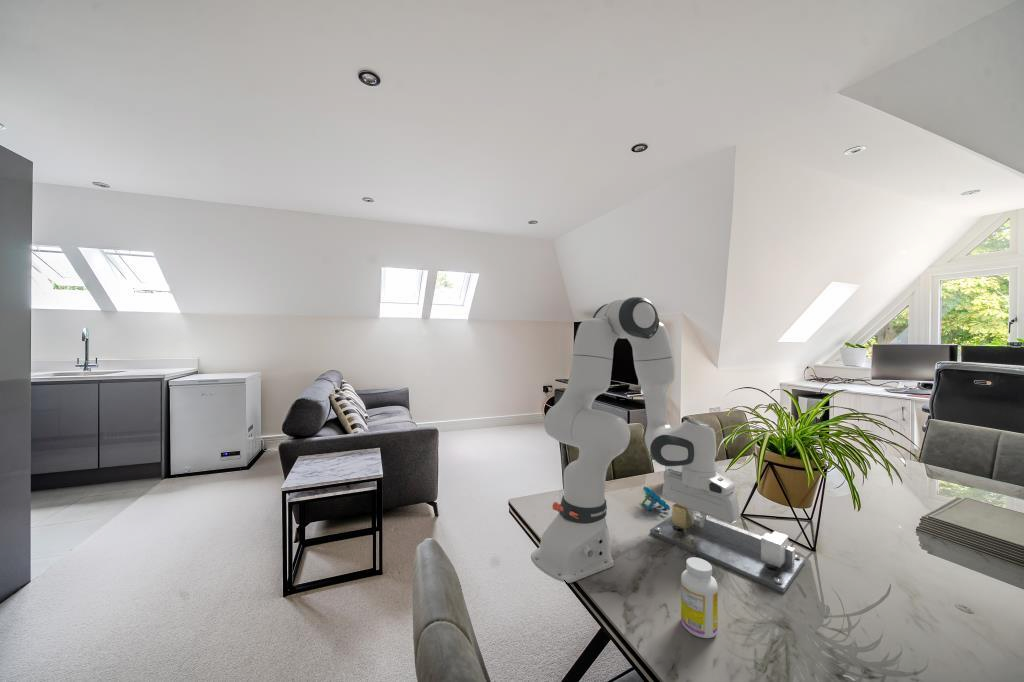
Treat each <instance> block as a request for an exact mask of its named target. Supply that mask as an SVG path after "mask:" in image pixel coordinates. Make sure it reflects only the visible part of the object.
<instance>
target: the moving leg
mask: <svg viewBox="0 0 1024 682" xmlns="http://www.w3.org/2000/svg"><path fill="white" fill-rule="evenodd" d="M672 506H673V516H672V515H671V516H672V524H674V525H677V526H679V527H680V529H681V530H684V529H687V528H688V527H690V526H691V525H692V518H691V516H690V515H689V513H688V508H687V507H685V506H682V505H679V504H676V503H674V504H673V505H672ZM694 512H696V513H698V511H696V510H695V511H694Z"/></svg>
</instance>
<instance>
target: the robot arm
mask: <svg viewBox="0 0 1024 682" xmlns="http://www.w3.org/2000/svg"><path fill="white" fill-rule="evenodd" d="M575 334H576V335H575V339H574V342H573V347H572V356H571V364H570V371H569V377H568V381H567V385H566V387H565V390H564V392H563V393H562V394H563V395H562V396H561V397H560V399H559V400H558V401H557V402H556V403H555V404H554V405H553V406H551V407H549V409H548V410H547V412H546V414H545V415H544V416H545V417H544V422H543V423H544V429H545V432H546V433H547V435H548V436H549V437H551V438H553V439H554V440H556V441H558V442H560V443H562V444H564V445H568V446H571V447H574V448H577V449H578V450H579V451H578V457H577V459H576V460H574V461H571V462H570V463H569V464H568V465H566V467H565V468H564V470H563V471H564V472H563V495H562V497H561V501H560V503H559V502H557V501H554V502H553V503H552V505H551V508H552V510H553V511H556V512H557V513H558V514H557V515H556V516H555V518H554V519H553V520H552V522H551V523H549V525H548V526H547V528H546V529H545V530H544V532H543V533H542V535H541V538H540V545H539V547H538V548H536V549H534V551H532V552H531V553H530V560H531V562H532V563H533V564H534V566H535V567H536V568H537V569H538V570H540V571H541V572H543V573H544V574H546V575H547V576H549V577H551V578H552V579H554V580H557V581H559V582H563V583H566V582H567V584H571V583H574V582H577V581H579V580H581V579H584V578H586V577H589V576H592V575H594V574H596V573H599V572H601V571H605V570H607V569H610V568H612V567H614V565H615V560H614V557H612V551H611V541H610V532H609V528H608V527H609V526H608V523H607V520H606V516H607V510H608V505H607V500H606V480H607V479H606V478H607V472H608V469H609V467H610V464H611V463H612V461H613V460H614V459H616V457H618V456H620V455H621V454H623V453H624V452H625V451H626V449H627V448H628V446H629V444H630V441H631V429H630V427H629V424H628V423H627V421H626V420H625V419H624V418H622V417H620V416H618V415H615V414H614V413H612V412H610V411H605V410H599V409H593V408H592V406H593V403H594V401H595V399H596V398H597V397H598V396H600V395H602V394H604V393H606V392H607V391H608V390H609V388H610V385H611V381H612V380H611V378H612V370H613V359H614V347H615V344H616V343H617V340H618V339H622V340H623V339H624V340H625V339H626V340H628V342H629V344H630V347H631V348H632V357H633V358H632V359H633V365H634V366H633V367H634V370H635V371H634V372H635V375H636V377H637V380H638V382H639V385H640V387H641V390H642V393H643V399H644V407H645V415H646V424H645V427H644V430H643V433H642V441H643V443H644V446H645V448H646V449H647V450H648V451H649V453H650V456H651V457H652V459H653V460H654V461H655V463H657V464H659V465H661V466H664V467H665V466H682V472H679V471H674V470H672V469H668V470H665V469H664V471H663V485H662V495H661V496H662V497H663V500H664V501H668V502H670V503H674V504H679V505H682V506H685V507H687V508H688V513H689V515H690V516H691V518H692V524H694V525H696V526H699V527H701V528H703V527H704V520H705V519H706V518H707V517H711V518H714V519H717V520H718V519H719V521H722V522H725V523H728V524H734V523H735V522H737V521H738V520H739V518H740V507H739V498H738V497H737V494H736V493H735V492H734V491H735V489H736V483H735V482H734V481H733V480H731V479H729V478H727V477H725V476H724V475H722V474H721V473H718V472H717V466H716V462H715V461H716V457H717V437H716V431H715V429H714V427H712V426H711V424H708V423H707V422H705V421H701V420H698V419H694V418H693V419H691V418H688V419H687V418H686V419H685V420H684V421H683V422H681V423H680V424H678V425H675V426H673V427H672V426H671V424H670V422H669V415H668V407H667V398H666V397H667V396H666V395H667V391H668V388H669V387H670V385H672V384H673V382H674V380H675V371H676V367H675V366H676V365H675V357H674V355H675V354H674V351H673V346H672V342H671V339H670V334H669V331H668V329H667V327H666V326H665V324H664V323H662V322H661V321H660V318H659V314H658V311H657V309H656V307H655V305H654V304H653V302H652V301H651V300H649V299H648V298H644V297H639V296H635V297H634V296H632V297H629V298H625V299H618V300H615V301H611V302H609V303H606V304H604V305H601V306H600V307H599V308H598V309H597V310H596V311H595V313H594V314H593V316H592V317H591V318H587V319H584V320H583V321H582V322H581V323H580V324H579V325H578V327H577V330H576V333H575ZM667 471H668V472H667ZM695 510H696V511H697V513H699V514H700V515H701V516H703V517H702V518H701V519H700V518H698V517H697V516H696V514H695V512H694V511H695ZM564 580H565V581H566V582H565V581H564Z"/></svg>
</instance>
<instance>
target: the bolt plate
mask: <svg viewBox="0 0 1024 682" xmlns="http://www.w3.org/2000/svg"><path fill="white" fill-rule="evenodd" d="M649 534H650V535H652V536H654V537H656V538H659V539H662V540H663V541H665V542H668V543H670V544H672V545H675V546H677V547H679V548H682V549H683V550H686V551H688V552H690V553H692V554H695V555H697V556H699V557H702V559H706V560H709V561H710V562H712V563H715V564H717V565H719V566H722V567H724V568H726V569H728V570H730V571H733V572H734V573H737V574H739V575H742V576H744V577H745V578H749V579H751V580H753V581H754V582H758V583H760V584H761V585H764V586H766V587H768V588H770V589H773V590H775V591H777V592H779V593H782V594H785V592H786V590H787V589H788V588H789V586H790V585H791V584H792V583H793V581H794V579H795V578H796V577H797V575H798V573H799V572H800V570H801V569H802V568H803V566H804V565H805V561H806V560H805V558H804V557H802V556H800V555H799V554H797V553H795V563H794V565H793V567H791V566H788V565H786V564H782V566H781V567H778V566H775V569H773V568H771V567H770V563H768V562H765V561H763V560H761V555H760V554H758V553H755V552H753V551H750V550H748V549H745V548H743V547H740V546H738V545H735V544H733V543H730V542H728V541H725V540H723V539H720V538H718V537H715V536H713V535H710V534H708V533H705V532H702V531H700V530H697V529H695V528H692V527H688V528H687V529H684V530H681V529H680V527H679V526H677V525H674V524H672V515H671V516H669V517H667V518H666V519H665V520H663V521H662V522H660V523H658V524H657V525H655V526H653V527H652V528H650V529H649Z"/></svg>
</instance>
